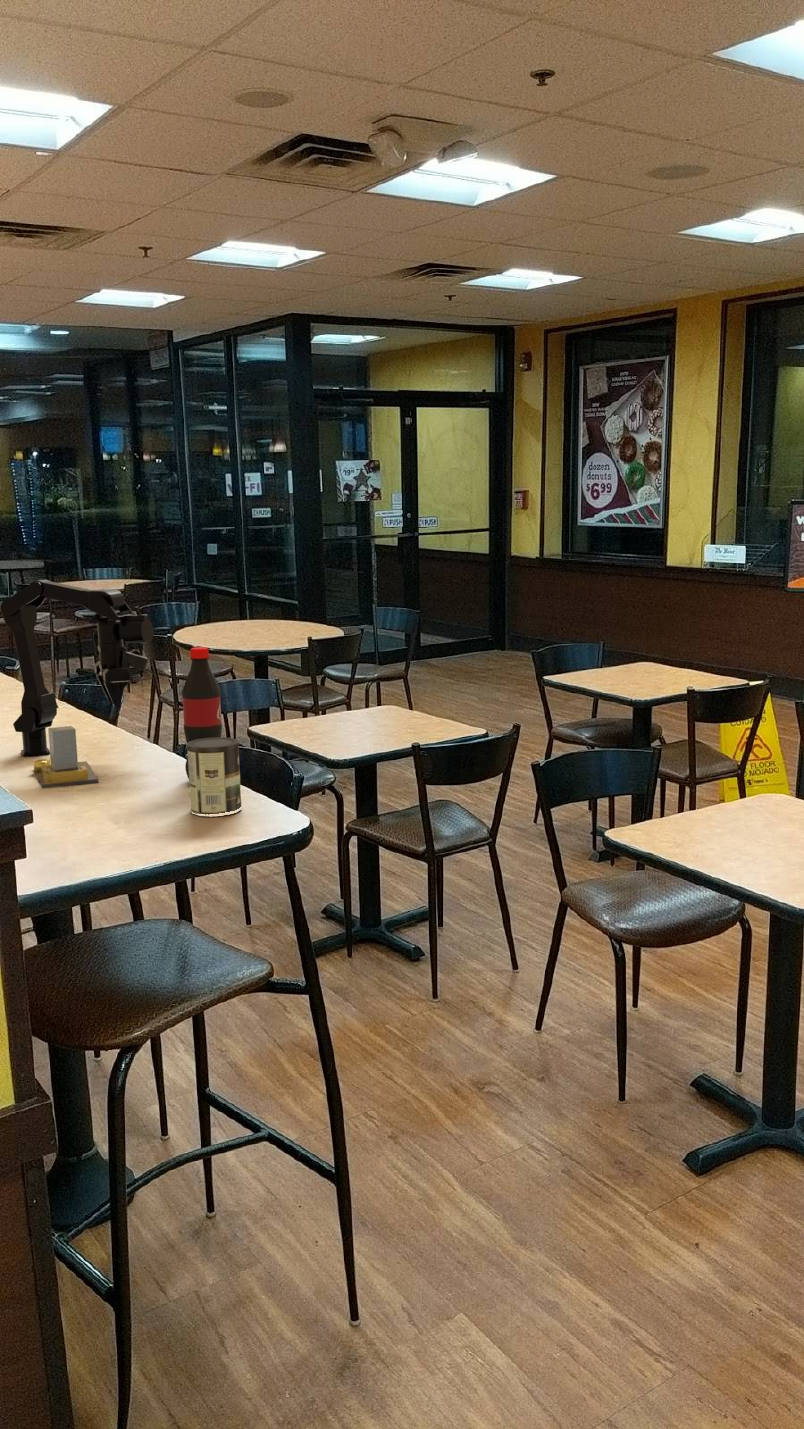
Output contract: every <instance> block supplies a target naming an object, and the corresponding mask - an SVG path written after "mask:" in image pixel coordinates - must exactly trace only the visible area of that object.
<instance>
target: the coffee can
mask: <svg viewBox="0 0 804 1429" xmlns="http://www.w3.org/2000/svg"><path fill="white" fill-rule="evenodd" d="M239 745H240V740H239V739H236V738H233V737H222V736H221V737H214V738H203V739H197V740H193V741H190V742H188V743H186V749H187V757H188V766H189V779H188V782H189V798H190V799H189V800H190V812H191V811H192V812H193V813H195V814H205V815H206V814H208V815H209V814H219V813H225V812H230V811H235V810H237V809H239V808H240V807H242V793H241V792H242V791H241V770H240V765H241V764H240V746H239Z"/></svg>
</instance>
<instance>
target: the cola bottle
mask: <svg viewBox="0 0 804 1429" xmlns="http://www.w3.org/2000/svg"><path fill="white" fill-rule="evenodd" d="M209 651H210V650H209V648H208V647H204V646H199V647H192V648H190V652H189V653H190V654H189V657H190V658H189V659H190V660H191V664H190V670H189V671H188V674H187V677H186V678H185V682H184V684H183V688H182V691H181V696H182V707H183V712H182V713H183V731H184V732H183V733H184V738H185V742H186V744H187V743H188V742H190V741H193V740H197V739H203V738H214V737H222V732H223V723H222V707H221V706H222V704H221V693H222V692H221V688H220V686H219V685H220V684H218V681H217V679H216V676H215V675H214V673H213V671H212V670H211V668H210V664H209V659H210V653H209ZM186 757H187V758H186V760H185V772H186V777H187V779H188V780H189V766H188V756H186Z"/></svg>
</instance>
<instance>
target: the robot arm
mask: <svg viewBox="0 0 804 1429" xmlns="http://www.w3.org/2000/svg"><path fill="white" fill-rule="evenodd" d="M46 599H51V600H56V601H58V602H59V601H60V602H63V603H70V604H73V605H74V604H75V605H78V606H81V607H83V608H85V609H87V610H88V611H90V612H92V613H95V614H93V617H91V619H89V620H88V624H91V625H93V624H94V625H97V636H98V637H97V638H98V645H97V651H98V652H99V661H96V663H95V664H94V673H95V674H96V675H95V676H96V678H97V680H98V682H99V684H100V686H101V688H102V690H103V692H104V695H105V696H106V697H105V698H106V699H107V701H108V703H109V704H113V706H114V709H115V710H120V709H121V705H122V701H123V695H124V690H125V688H126V687H127V686H128V685H129V684H130V683H131V681H133V675H132V671H131V670H130V669H128V667H131V668H135V669H138V670H140V671H143V672H145V671H146V669H147V666H148V662H149V658H148V657H146V656H143V655H142V654H141V651H140V650H137V649H132V650H131V651H130V652H129V651H127V647H125V645H124V642H125V643H126V644H127V643H129V644H131V643H133V644H149V643H151V642H152V640H153V638H154V633H155V632H154V630H155V628H154V626H153V624H152V622H151V620H150V619H149V615H148V614H146V613H145V614H143V613H142V614H135V613H134V612H133V611H132V609H131V608H130V607H129V605H128V603H127V602H126V601H125V598H124V596H123V594H122V592H121V591H120V590H118V589H114V588H113V589H111V588H110V589H109V588H107V589H99V588H98V589H89V588H84V587H79V586H74V585H69V584H64V583H59V582H55V581H50V580H48V579H36V580H33V581H32V582H31V583H30V584H28V585H27V586H26V587H25V588H22V589H21V590H19V591H17V592H15V593H14V594H13V595H12V596H8V597H6V598H4V599H3V600H2V602H1V604H0V612H1V616H2V619H3V621H4V623H5V625H6V626H7V627H8V629H9V630H10V631H11V633H12V634H13V639H14V645H15V650H16V654H17V655H16V656H17V660H18V664H19V669H20V675H21V680H22V684H23V695H22V697H21V702H20V704H21V705H20V708H21V709H20V710H21V713H20V715H19V716H18V717H17V719H16V720H15V721H14V722H13V724H12V726H13V729H14V731H15V732H16V733H21V736H22V737H21V738H22V748H23V749H20V753H21V754H22V757H29V756H32V757H33V756H42V755H50V748H48V742H47V741H48V740H47V728H52V725H53V721H54V719H55V717H56V716H57V714H58V713H57V712H58V709H59V705H58V703H57V698H56V697H57V695H56V693H55V691H53V692H50V691H49V690H48V689H47V688H46V686H45V682H44V677H43V672H42V671H43V670H42V666H41V660H40V657H39V650H38V646H37V645H38V644H37V641H36V635H35V627H36V623H37V620H38V615H37V614H38V613H37V612H38V611H37V609H38V608H39V607H41V606H42V605H43V604H44V602H45V601H46Z"/></svg>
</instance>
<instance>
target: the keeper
mask: <svg viewBox="0 0 804 1429" xmlns="http://www.w3.org/2000/svg"><path fill="white" fill-rule="evenodd" d="M33 770H34V772H35V775H36V778H37V779H38V781H39V784H40V787H41V788H42V789H50V788H59V787H60V788H61V787H68V786H79V785H88V784H98V783H99V782H100V781H99V778H98V776H97V775H96V773H95V772H94V771H93V769H92V768H91V766H90V764H89V763H88V762H87V761H78V770H71V771H61V772H51V761H50V759H45V758H44V759H38V760H36V759H35V760H34V761H33Z"/></svg>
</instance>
